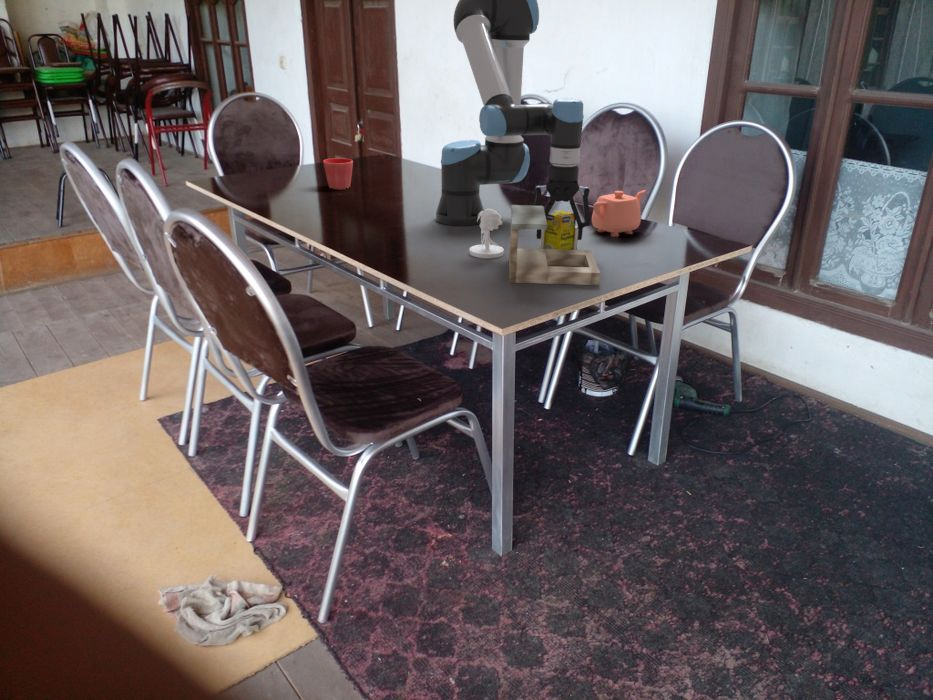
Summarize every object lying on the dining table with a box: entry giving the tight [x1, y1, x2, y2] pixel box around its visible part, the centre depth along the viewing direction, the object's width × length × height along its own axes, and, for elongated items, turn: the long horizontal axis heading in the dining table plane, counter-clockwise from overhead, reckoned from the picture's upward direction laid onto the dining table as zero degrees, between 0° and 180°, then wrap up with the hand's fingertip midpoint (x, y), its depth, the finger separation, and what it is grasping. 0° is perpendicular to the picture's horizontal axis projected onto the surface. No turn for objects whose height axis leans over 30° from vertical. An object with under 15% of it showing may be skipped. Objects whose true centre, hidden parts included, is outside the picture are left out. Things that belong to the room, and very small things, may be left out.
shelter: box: [508, 204, 601, 286], centre depth 171 cm, size 21×18×14 cm
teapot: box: [591, 189, 647, 238], centre depth 206 cm, size 20×12×12 cm, turn 124°
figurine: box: [468, 208, 505, 259], centre depth 184 cm, size 9×9×12 cm
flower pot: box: [322, 157, 354, 190], centre depth 257 cm, size 11×11×10 cm
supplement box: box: [543, 209, 577, 250], centre depth 185 cm, size 6×6×11 cm
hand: (558, 250), depth 187 cm, fingers closed on supplement box, 8 cm apart
